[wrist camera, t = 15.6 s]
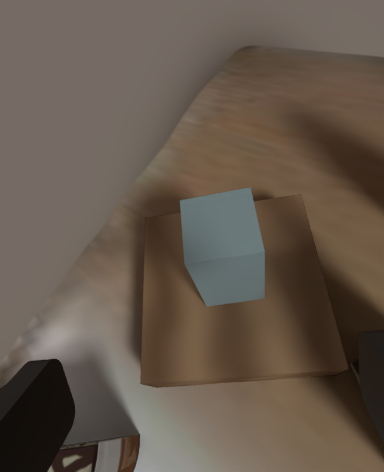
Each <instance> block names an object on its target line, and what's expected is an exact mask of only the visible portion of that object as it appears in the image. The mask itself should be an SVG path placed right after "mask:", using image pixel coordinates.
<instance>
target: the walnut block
mask: <svg viewBox="0 0 384 472" xmlns="http://www.w3.org/2000/svg"><path fill="white" fill-rule="evenodd" d="M254 205H255V210H256V214H257V219H258V223H259V228H260V232H261V237H262V241H263V246H264V250H265V299H258V300H251V301H244V302H236V303H229V304H222V305H215V306H208V307H207V306H206V304H205V303H204V301H203V299H202V297H201V295H200V293H199V291H198V289H197V287H196V285H195V283H194V281H193V280H192V278H191V276H190V274H189V272H188V270H187V268H186V266H185V264H184V250H183V237H182V223H181V213H174V214H168V215H161V216H155V217H148V218H145V249H144V282H143V316H142V350H141V383H140V384H143V385H147V386H152V387H156V388H159V387H173V386H187V385H202V384H216V383H230V382H245V381H259V380H273V379H288V378H302V377H316V376H331V375H338V374H340V373H342V372H343V371H345V370H347V369H348V365H347V361H346V358H345V354H344V350H343V347H342V343H341V339H340V335H339V332H338V328H337V324H336V321H335V317H334V313H333V310H332V306H331V302H330V299H329V295H328V291H327V288H326V284H325V280H324V277H323V273H322V269H321V266H320V262H319V258H318V255H317V251H316V247H315V244H314V240H313V236H312V233H311V229H310V225H309V222H308V218H307V214H306V211H305V207H304V203H303V199H302V196H301V194H299V195H292V196H286V197H279V198H273V199H266V200H260V201H254Z"/></svg>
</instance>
